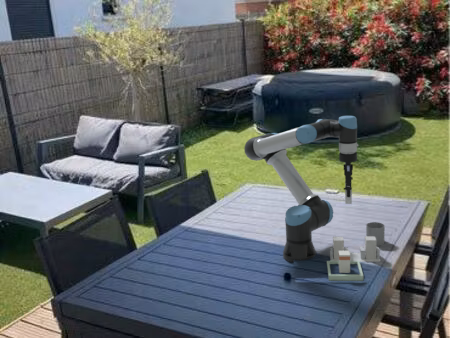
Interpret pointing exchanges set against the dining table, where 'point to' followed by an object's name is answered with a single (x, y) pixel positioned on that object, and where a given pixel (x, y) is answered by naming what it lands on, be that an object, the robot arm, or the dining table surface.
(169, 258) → the dining table surface
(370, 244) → the block
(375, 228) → the cup
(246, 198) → the dining table surface
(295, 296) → the dining table surface
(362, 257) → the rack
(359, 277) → the tray
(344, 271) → the block
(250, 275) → the dining table surface
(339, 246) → the block
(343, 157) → the robot arm
